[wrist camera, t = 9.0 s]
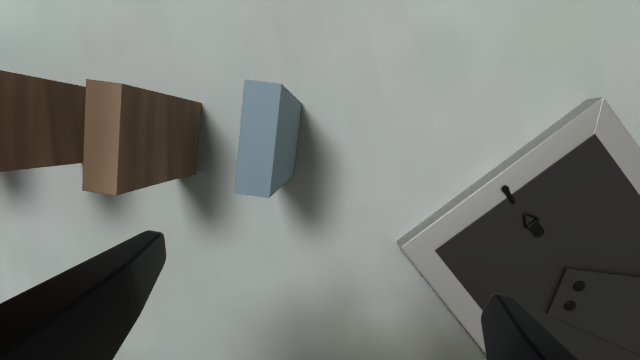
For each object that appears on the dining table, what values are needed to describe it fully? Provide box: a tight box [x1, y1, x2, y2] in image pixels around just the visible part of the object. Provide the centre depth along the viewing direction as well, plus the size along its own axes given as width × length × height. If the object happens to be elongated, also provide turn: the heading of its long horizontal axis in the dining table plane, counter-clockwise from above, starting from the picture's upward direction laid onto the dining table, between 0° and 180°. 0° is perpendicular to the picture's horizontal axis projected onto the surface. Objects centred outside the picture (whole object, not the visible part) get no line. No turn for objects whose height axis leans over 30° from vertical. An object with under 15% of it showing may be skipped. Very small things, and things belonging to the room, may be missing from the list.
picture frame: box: [397, 97, 640, 360], centre depth 24 cm, size 16×3×21 cm
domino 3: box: [234, 80, 302, 198], centre depth 20 cm, size 2×5×9 cm, turn 173°
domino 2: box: [82, 79, 201, 195], centre depth 20 cm, size 2×5×9 cm, turn 172°
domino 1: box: [0, 70, 86, 172], centre depth 20 cm, size 2×5×9 cm, turn 173°
